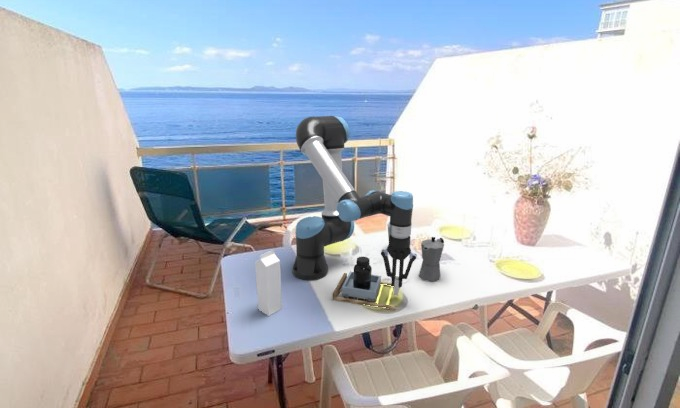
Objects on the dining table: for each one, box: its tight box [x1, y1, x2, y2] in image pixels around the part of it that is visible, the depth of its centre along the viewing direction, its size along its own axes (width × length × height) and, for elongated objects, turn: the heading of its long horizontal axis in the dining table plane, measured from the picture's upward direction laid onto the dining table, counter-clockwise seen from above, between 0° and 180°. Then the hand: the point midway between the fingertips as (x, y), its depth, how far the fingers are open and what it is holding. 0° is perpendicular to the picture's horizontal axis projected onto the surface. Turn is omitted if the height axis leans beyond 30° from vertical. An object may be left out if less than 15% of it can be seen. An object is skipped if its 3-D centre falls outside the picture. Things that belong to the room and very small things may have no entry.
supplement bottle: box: [353, 256, 373, 290], centre depth 131 cm, size 7×7×12 cm
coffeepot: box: [418, 236, 445, 283], centre depth 144 cm, size 15×9×18 cm, turn 136°
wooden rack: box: [331, 272, 401, 312], centre depth 132 cm, size 23×17×2 cm
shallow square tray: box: [341, 271, 382, 302], centre depth 132 cm, size 13×14×4 cm
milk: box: [254, 249, 283, 317], centre depth 118 cm, size 6×6×22 cm
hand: (396, 293), depth 129 cm, fingers closed
